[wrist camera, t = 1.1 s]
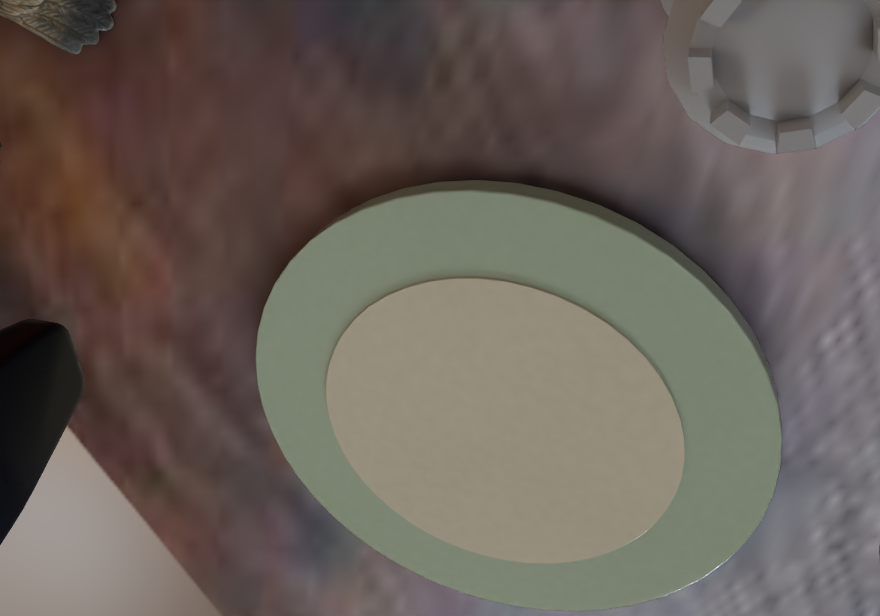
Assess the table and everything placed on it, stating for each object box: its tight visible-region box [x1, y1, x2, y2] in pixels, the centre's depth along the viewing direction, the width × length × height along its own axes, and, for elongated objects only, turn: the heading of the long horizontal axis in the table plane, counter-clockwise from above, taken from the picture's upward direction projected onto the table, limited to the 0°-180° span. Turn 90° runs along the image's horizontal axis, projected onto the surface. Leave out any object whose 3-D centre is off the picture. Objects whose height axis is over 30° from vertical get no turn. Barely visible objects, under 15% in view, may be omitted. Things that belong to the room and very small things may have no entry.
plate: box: [256, 180, 782, 611], centre depth 25 cm, size 16×16×1 cm
